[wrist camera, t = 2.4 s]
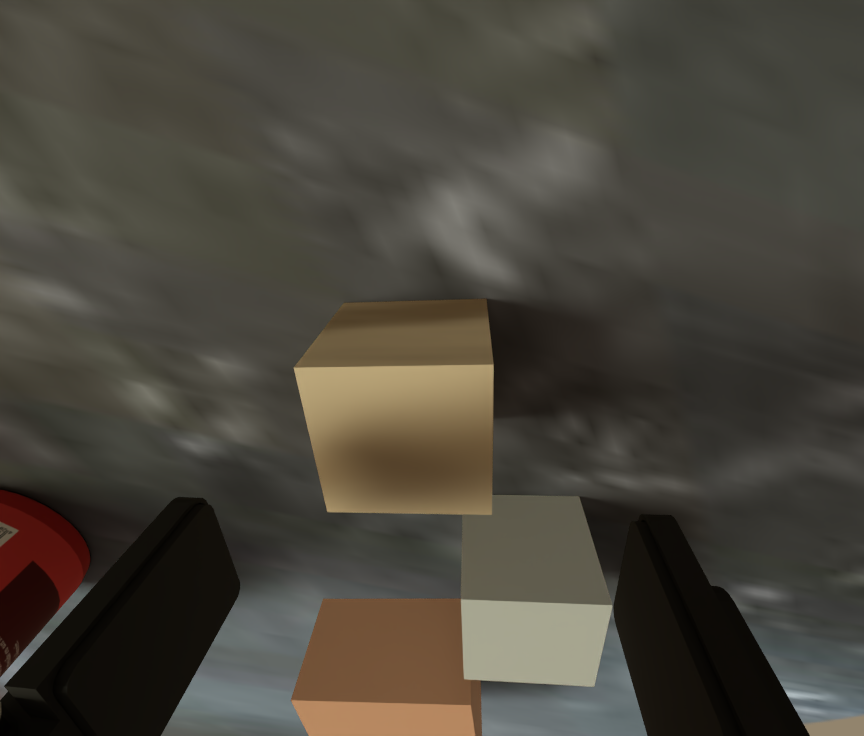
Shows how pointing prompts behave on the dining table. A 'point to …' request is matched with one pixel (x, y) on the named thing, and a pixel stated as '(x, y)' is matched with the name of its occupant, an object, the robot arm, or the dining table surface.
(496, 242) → the dining table surface
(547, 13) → the dining table surface
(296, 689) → the terracotta block
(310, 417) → the maple cube
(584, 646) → the pale green-grey cube
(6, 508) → the canned food
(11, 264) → the dining table surface
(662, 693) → the robot arm
